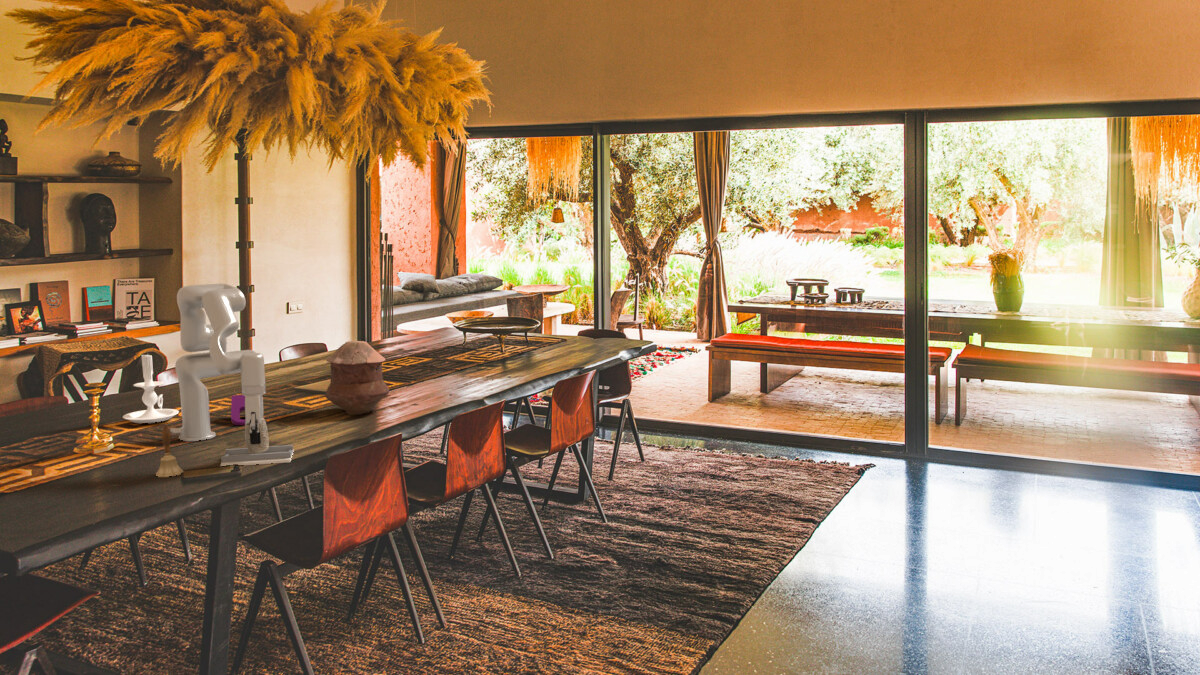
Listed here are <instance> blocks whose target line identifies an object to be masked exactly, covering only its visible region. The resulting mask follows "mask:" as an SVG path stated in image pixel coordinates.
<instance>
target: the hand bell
mask: <svg viewBox="0 0 1200 675" xmlns="http://www.w3.org/2000/svg"><path fill="white" fill-rule="evenodd" d="M171 437H172V436H171V431H170V428H169V426H168V425H167V424H166V425H165V424H164V425H163V426H162V430H161V439H162V443H163V446H164V455H163V457H161V458H160V464H159V468H158V470H157V471H156V473H155V474H156V476H158V477H157V478H170V477H169V476H172V477H176V475H177V476H180V475H182V474H183V473H184V469H182V468H181V467H180V466H179V465H178V461H177V459H176V456H174V455H172V454H171V446H170V444H171ZM182 472H183V473H182ZM181 473H182V474H181ZM156 476H155V477H156Z"/></svg>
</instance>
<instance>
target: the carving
mask: <svg viewBox="0 0 1200 675" xmlns="http://www.w3.org/2000/svg"><path fill="white" fill-rule="evenodd" d="M257 421H258V420H257ZM255 423H258V422H255ZM256 426H257V425H256ZM259 432H260V438H261V443H260V444H251V443H250V423H249V424H248V425H247V424H246V423H245V425H244V440H245V444H246V448H248V452H249V453H250V454H258V453H262V452H265V451H266V450H267V449H268V447H269V446H270V443H269V442H270V441H269V432H268V426H267V422H266V419H265V418H264V417H263V418H262V421H261V423H260V424H259Z"/></svg>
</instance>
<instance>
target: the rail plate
mask: <svg viewBox="0 0 1200 675" xmlns="http://www.w3.org/2000/svg"><path fill="white" fill-rule="evenodd" d="M293 452H295V450H294V445H293V444H286V445H272V446H270V445H269V447H268V449H267V450H266V451H265V452H262V453H258V454H250V453H249V452H248V448H247V447H242V448H241V447H240V448H225V454H224V455H222V456H221V457H220V458H221V459H220V461H221V462H220V467H221V466H226V465H233V464H238V465H244V466H255V465H256V464H259V465H269V464H270V465H271V463H273V464H285V463H291V461H292V459H291V458H293V456H294V453H293ZM292 455H293V456H292ZM256 466H257V465H256Z"/></svg>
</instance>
